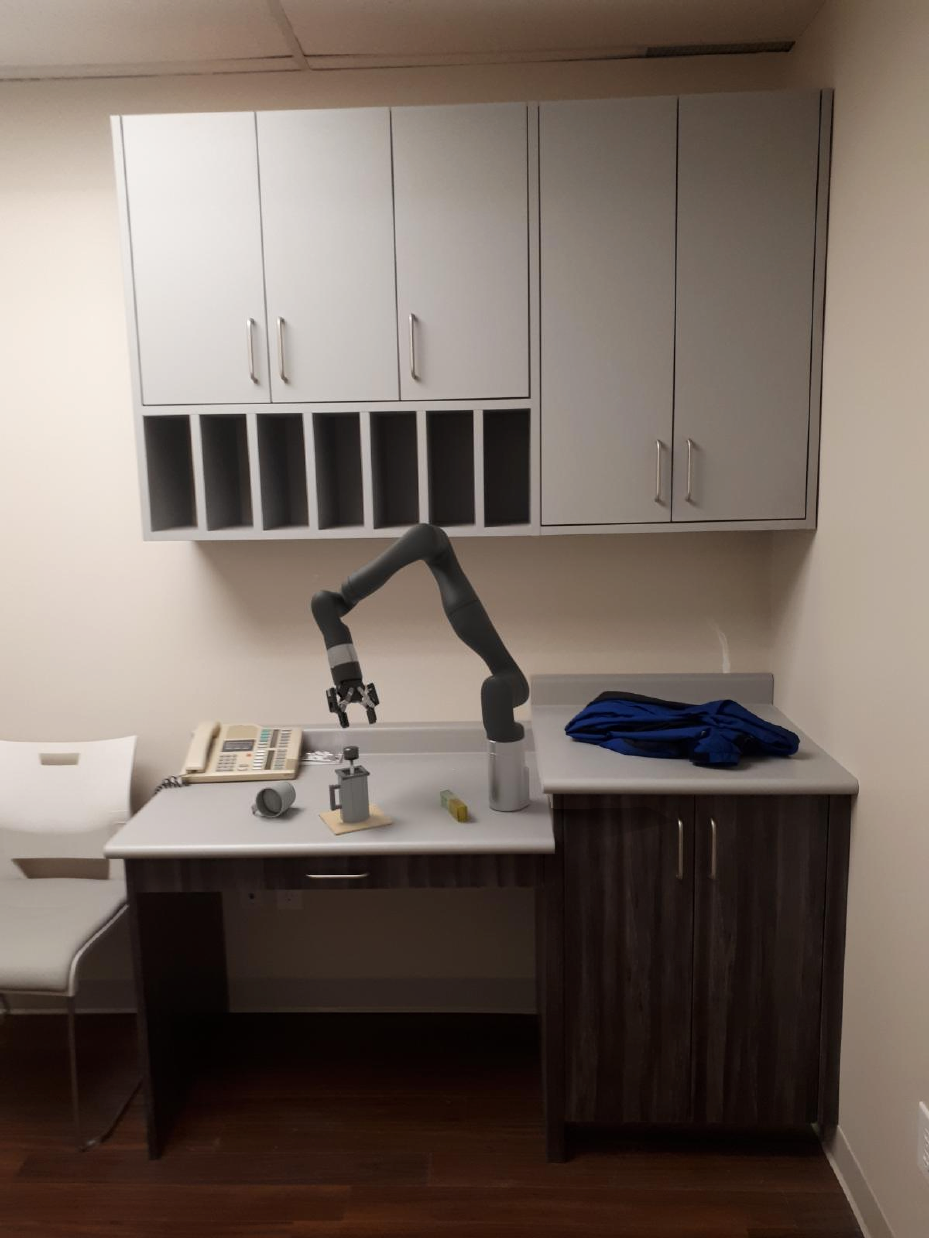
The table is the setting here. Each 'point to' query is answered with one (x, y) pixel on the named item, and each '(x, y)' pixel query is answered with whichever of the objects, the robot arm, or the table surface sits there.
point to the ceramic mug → (274, 799)
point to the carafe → (352, 804)
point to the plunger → (351, 756)
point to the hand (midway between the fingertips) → (359, 725)
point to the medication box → (454, 806)
